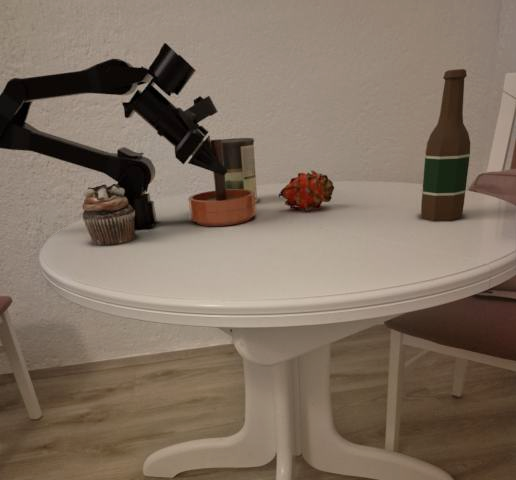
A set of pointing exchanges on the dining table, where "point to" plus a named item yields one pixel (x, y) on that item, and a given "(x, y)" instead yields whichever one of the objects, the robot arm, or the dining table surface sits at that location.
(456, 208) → the beer bottle
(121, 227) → the cupcake
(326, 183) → the dragon fruit
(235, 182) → the coffee can
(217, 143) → the wooden peg on disc
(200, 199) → the bowl
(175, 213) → the dining table surface
